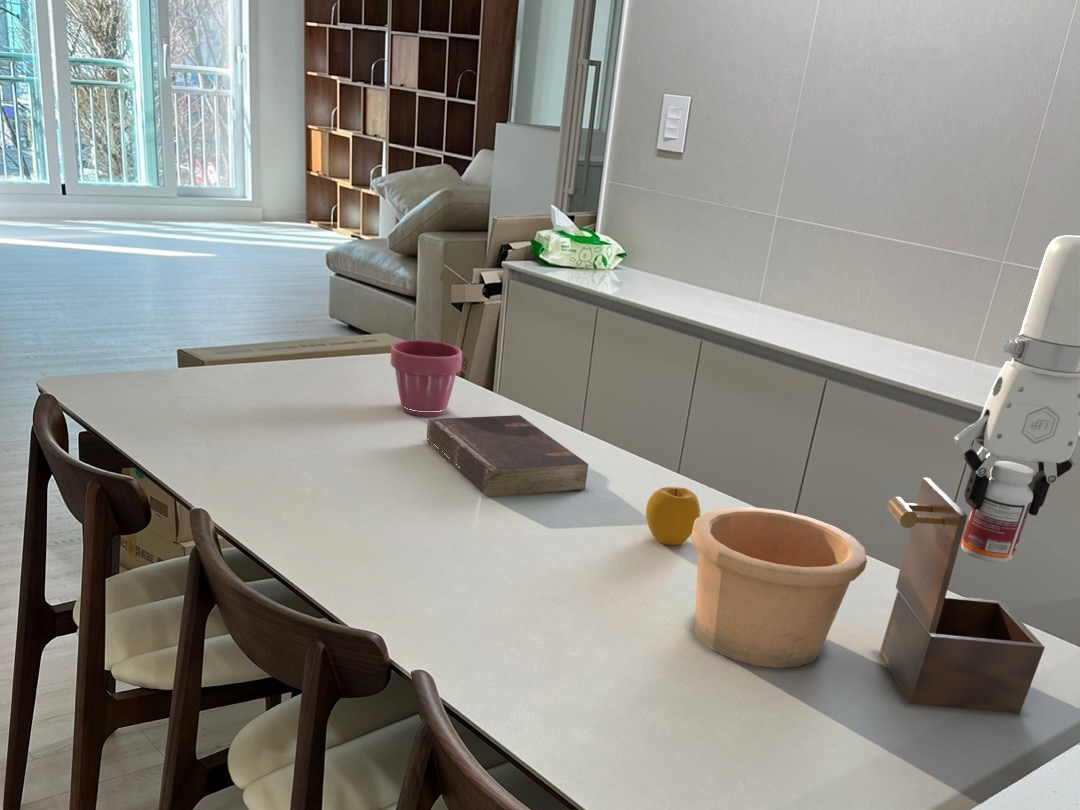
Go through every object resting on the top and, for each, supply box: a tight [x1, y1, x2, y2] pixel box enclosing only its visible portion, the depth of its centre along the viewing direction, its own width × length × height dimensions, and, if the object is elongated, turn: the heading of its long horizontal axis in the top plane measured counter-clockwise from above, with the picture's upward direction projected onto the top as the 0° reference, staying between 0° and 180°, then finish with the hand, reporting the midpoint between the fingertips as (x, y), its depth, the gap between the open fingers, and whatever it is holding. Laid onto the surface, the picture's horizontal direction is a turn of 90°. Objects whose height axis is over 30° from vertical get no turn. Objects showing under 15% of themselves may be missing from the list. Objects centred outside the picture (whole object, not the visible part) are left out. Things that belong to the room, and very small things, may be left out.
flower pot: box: [390, 339, 463, 418], centre depth 215 cm, size 14×14×13 cm
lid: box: [886, 477, 968, 633], centre depth 126 cm, size 15×13×6 cm
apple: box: [645, 486, 701, 547], centre depth 166 cm, size 8×8×9 cm
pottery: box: [690, 506, 868, 669], centre depth 137 cm, size 22×22×14 cm
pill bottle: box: [960, 460, 1035, 564], centre depth 126 cm, size 6×6×11 cm
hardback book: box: [426, 414, 589, 497], centre depth 190 cm, size 29×19×5 cm, turn 25°
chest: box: [878, 590, 1046, 715], centre depth 132 cm, size 14×13×9 cm
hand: (1000, 507), depth 126 cm, fingers closed on pill bottle, 6 cm apart
